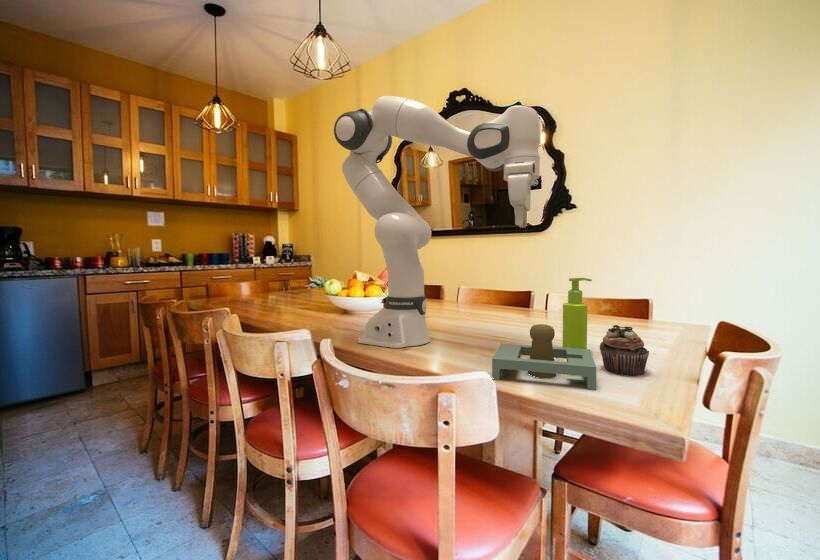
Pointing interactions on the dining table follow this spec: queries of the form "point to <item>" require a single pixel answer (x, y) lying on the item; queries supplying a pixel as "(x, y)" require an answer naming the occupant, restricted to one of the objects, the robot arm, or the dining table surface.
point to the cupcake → (623, 352)
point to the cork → (542, 347)
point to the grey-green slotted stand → (545, 362)
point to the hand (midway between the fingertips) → (520, 226)
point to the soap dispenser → (575, 318)
